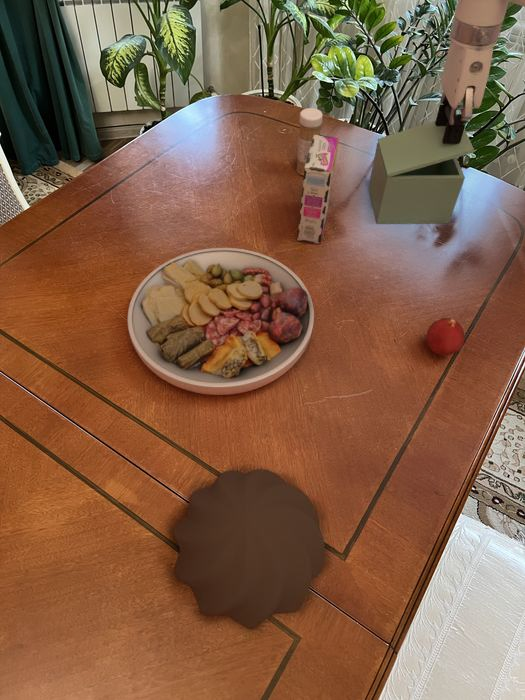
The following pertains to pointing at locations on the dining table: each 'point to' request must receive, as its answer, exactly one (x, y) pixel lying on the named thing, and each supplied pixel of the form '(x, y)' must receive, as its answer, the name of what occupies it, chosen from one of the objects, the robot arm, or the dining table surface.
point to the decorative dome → (249, 546)
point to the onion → (445, 336)
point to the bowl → (220, 320)
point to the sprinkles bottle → (307, 134)
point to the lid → (420, 147)
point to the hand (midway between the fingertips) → (447, 133)
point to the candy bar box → (317, 188)
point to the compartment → (415, 193)
